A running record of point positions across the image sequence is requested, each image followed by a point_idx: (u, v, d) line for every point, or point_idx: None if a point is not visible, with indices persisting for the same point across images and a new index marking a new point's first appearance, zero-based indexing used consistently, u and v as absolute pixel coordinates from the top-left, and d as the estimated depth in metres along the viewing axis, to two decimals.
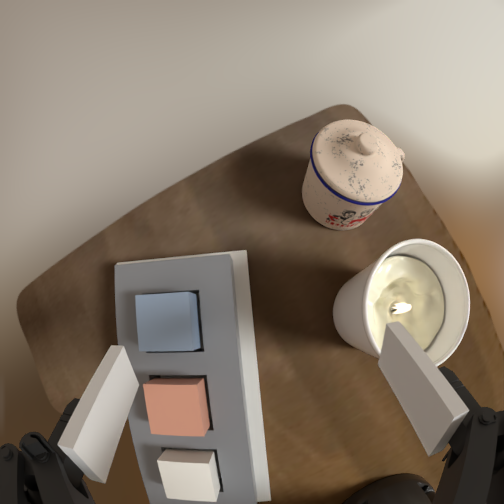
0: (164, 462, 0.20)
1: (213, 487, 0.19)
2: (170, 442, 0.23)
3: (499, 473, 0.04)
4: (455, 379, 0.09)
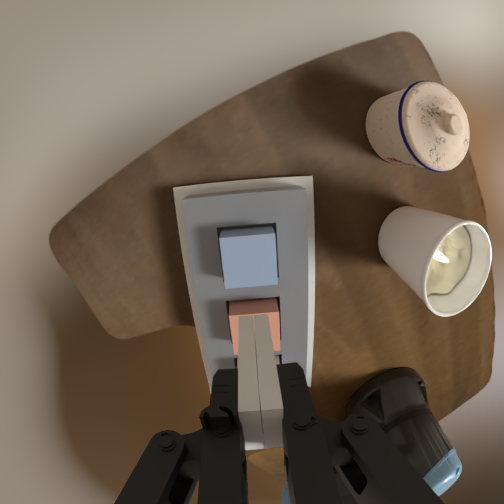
0: None
1: None
2: None
3: (364, 494, 0.06)
4: (300, 376, 0.11)
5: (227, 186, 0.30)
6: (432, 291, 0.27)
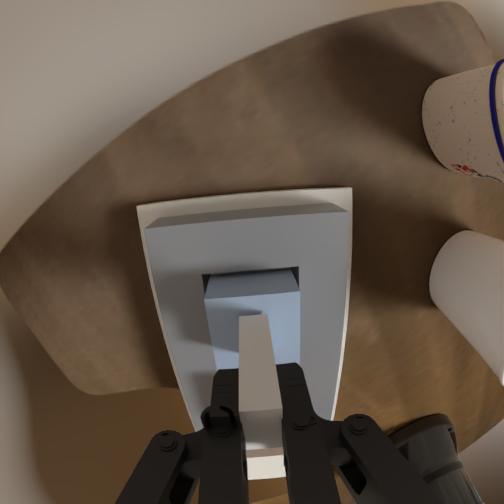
0: None
1: None
2: None
3: (364, 494, 0.06)
4: (300, 376, 0.11)
5: (220, 204, 0.19)
6: None
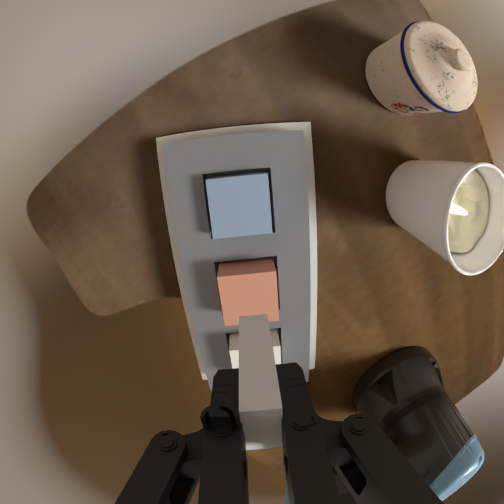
0: (236, 351, 0.27)
1: None
2: (236, 327, 0.29)
3: (364, 494, 0.06)
4: (300, 376, 0.11)
5: (215, 133, 0.25)
6: (450, 250, 0.23)
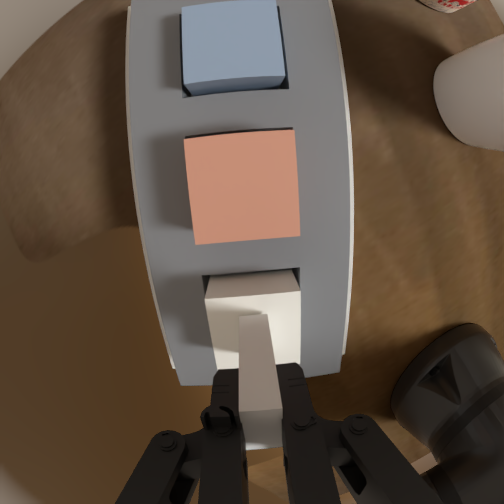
0: (218, 301, 0.15)
1: None
2: (220, 263, 0.17)
3: (364, 494, 0.06)
4: (300, 376, 0.11)
5: None
6: None
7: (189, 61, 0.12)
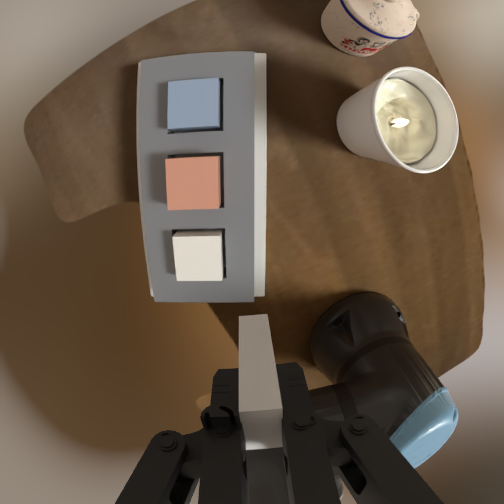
0: (179, 238, 0.29)
1: None
2: (181, 223, 0.30)
3: (364, 494, 0.06)
4: (300, 376, 0.11)
5: None
6: None
7: (170, 116, 0.25)
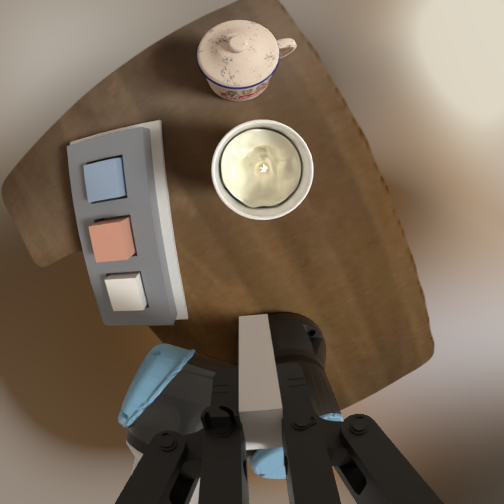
0: (109, 280, 0.36)
1: (140, 297, 0.37)
2: (111, 268, 0.37)
3: (364, 494, 0.06)
4: (300, 376, 0.11)
5: (101, 136, 0.34)
6: (261, 204, 0.32)
7: (88, 192, 0.32)
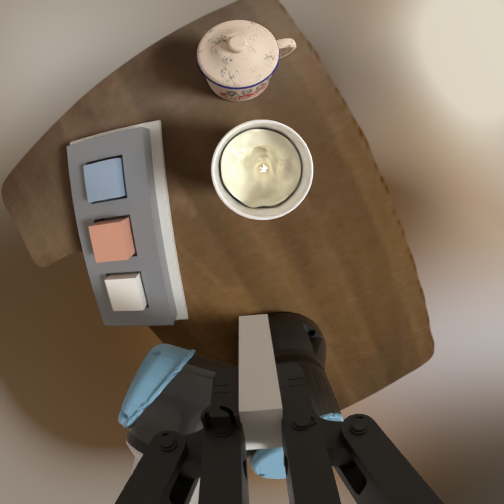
0: (109, 280, 0.36)
1: (140, 298, 0.38)
2: (111, 268, 0.37)
3: (364, 494, 0.06)
4: (300, 376, 0.11)
5: None
6: (261, 204, 0.32)
7: (88, 192, 0.32)
